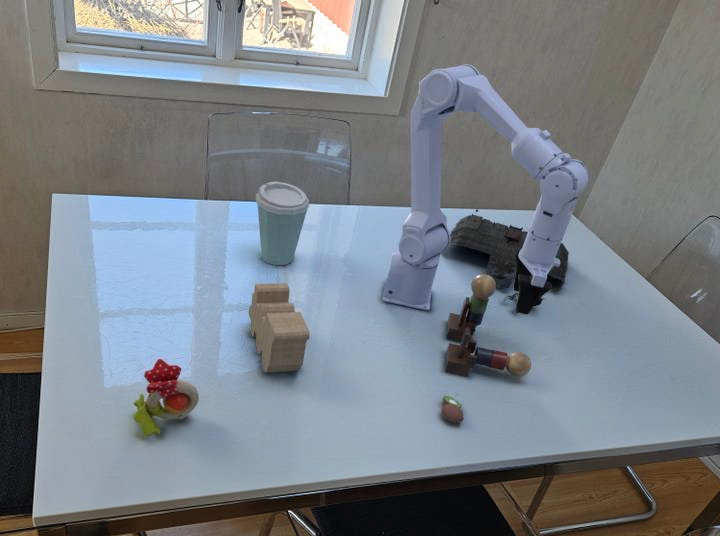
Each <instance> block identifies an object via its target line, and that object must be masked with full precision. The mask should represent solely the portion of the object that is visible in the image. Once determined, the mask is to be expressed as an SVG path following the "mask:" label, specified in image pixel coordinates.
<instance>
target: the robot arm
mask: <svg viewBox="0 0 720 536" xmlns="http://www.w3.org/2000/svg"><path fill="white" fill-rule="evenodd" d="M455 111H459V112H469V113H477V114H478V115H479V116H480V117H481V118H482V119H484V120H485V121H486V122H487V124H489V125H491V127H492V128H493V129H494V130H496V132H498V133H499V135H501V136H502V137H503V138H504V139H506V140H507V141H508V142H509V143H510V144H511V147H510V148H511V156H512V157H513V158H514V159H515V161H517V162H518V163H519V164H520V165H521V166H522V167H523V168H524V169H525V170H526V171H527V173H528V174H529V175H531V176H532V178H533V179H534V180H535V181H536V182H537V183H539V191H540V194H541V196H540V199H539V202H538V203H537V205H536V209H535V211H534V215H533V216H532V220H531V223H530V224H529V225H530V226H529V228H528V231H527V232H528V234H527V237H526V239H525V242H524V245H523V248H522V249H521V250H520V251H519V250H517V251H515V257H516V272H515V274H514V278H513V291H514V292H516V293H517V292H518V294H519V295H518V296H517V299H516V305H515V306H516V307H515V310H516V311H515V313H516V314H523V315H529V314H530V312H531V311H532V310H533V308H534V305H535V304H536V303H537V301H538V300H539V299H540V298H543V296H544V295H546V294H547V293H548V292H550V291H551V289H552V288H553V286H552V283H551V282H550V281H547V279H548V275H549V274H548V273H549V271H550V270H551V268H552V267H553V266H556V267H559V266H560V260H559V259H558V258H555V257H556V254H557V252H558V249H559V247H560V244H561V243H562V241H563V239H564V236H565V235H566V231H567V228H568V226H569V224H570V221H571V220H572V219H571V218H572V216H573V212H574V210H575V207H576V204H577V202H578V199H579V198H578V196H580V195H581V194H582V193H583V192H584V191H585V190H586V189H587V188H588V186H589V183H590V172H589V169H588V168H587V167H586V165H585V164H584V161H581V160H579V159H574V158H572V156H571V155H570V154H569V153H568V152H563V150H562V149H560V147H558V145H556V143H555V142H553V141H552V139H550V137H551V136H552V135H551V133H550V132H549V131H548V130H547V129H544V130H542V129H540V128H539V127H527V125H526V124H524V122H523V121H522V120H521V118H520V117H518V115H517V114H516V113H515V112H514V111H513V110H512V109H511V107H510V106H509V105H508V104H507V103H506V101H504V100H503V98H502V97H501V96H500V95H499V94H498V92H497V91H496V90H495V89H494V88H493V86H492V85H491V83H490V81H489V79H488V77H486V76H485V75H484V74H482V73H480V72H479V70H478V69H477V68H476V67H475V66H473V65H472V64H467V63H463V64H459V65H458V66H452V67H445V68H436V69H433V70H432V71H430V72H429V73H428V74H427V75H426V76H424V77H423V79H422V80H420V81H419V83H418V94H417V96H416V99H415V101H414V103H413V106H412V108H411V111H410V213H409V215H408V216H407V218H406V220H405V221H404V223H403V225H402V232H401V237H400V239H399V241H398V251H399V252H392V255H391V258H390V262H389V263H390V264H389V267H388V272H387V276H386V277H385V278H384V281H383V282H384V283H383V287H384V290H383V295H382V301H383V302H385V303H389V304H395V305H399V306H403V307H404V306H405V307H409V308H413V309H417V310H421V311H425V312H427V311H430V308H431V297H432V288H433V285H434V281H435V277H436V274H437V270H438V266H439V263H440V258H441V256H442V253H444V252H445V251H446V250H447V249H448V248H449V247H450V246H451V245H450V241H451V237H450V234H451V232H450V230H449V228H448V223H447V221H448V220H447V219H448V218H447V216H446V214H445V213H444V212H443V211H442V210H441V194H442V193H441V192H442V191H441V189H442V188H441V187H442V186H441V185H442V131H443V130H442V127H443V122H444V121H446V120H447V119H448V118H449V117H450V116H451V115H452V114H453V113H454V112H455Z"/></svg>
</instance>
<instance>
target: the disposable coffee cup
mask: <svg viewBox="0 0 720 536" xmlns="http://www.w3.org/2000/svg"><path fill="white" fill-rule="evenodd" d="M255 202H256V205H257V215H258V228H259V238H260V239H259V243H260V253H261V257H262V259H263V260H264V262H266V263H267V264H271V265H274V266H285V265H287V264H291V262H292V261H293V258H295V255H296V254H295V253H296V250H297V247H298V243H299V240H300V236H301V233H302V229H303V227H304V222H305V218H306V216H307V213H308V209H309V207H310V200H309V199H308V197H307V194H306V193H305V191H303V190H302V189H300V188H299V187H298V186H296V185H292V184H290V183H288V182H281V181H270V182H266V183H264V184H262V185H261V186H260V187H259V188H258V192H257V193H255Z"/></svg>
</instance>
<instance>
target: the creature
mask: <svg viewBox="0 0 720 536" xmlns="http://www.w3.org/2000/svg"><path fill="white" fill-rule="evenodd" d="M518 295H519V293H517V292H516V293H514V294H513V295H512V296H511V295H507V296H505V297H504V298H503V302H505V301H507V300H510V301H514V300H515V301H516V299H515V298H516V297H518ZM543 300H545V298H544V297H541V298H540V299H539V300H538V301H537V303H536V304H535V305H534V307H535V308H536V307H538V306H540V305H541V304H542V303H543ZM534 307H533V308H534ZM514 312H516V309H515V310H514V311H511V313H512V314H514Z"/></svg>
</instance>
